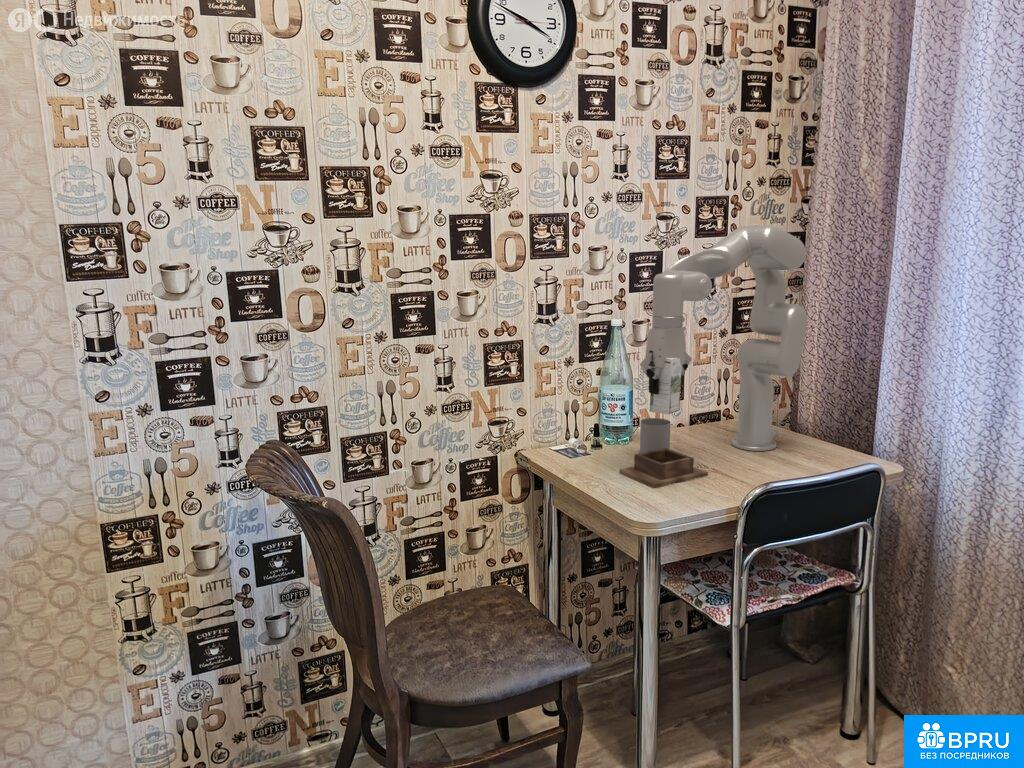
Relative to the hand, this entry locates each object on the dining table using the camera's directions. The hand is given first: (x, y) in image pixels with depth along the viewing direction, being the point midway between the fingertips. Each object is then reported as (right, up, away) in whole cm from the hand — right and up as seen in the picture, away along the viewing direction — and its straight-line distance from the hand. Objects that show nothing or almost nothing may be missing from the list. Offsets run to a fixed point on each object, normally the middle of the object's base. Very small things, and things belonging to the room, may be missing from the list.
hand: (665, 391), depth 194 cm
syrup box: (0, -5, +1) cm, 6 cm away
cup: (+1, -19, +21) cm, 28 cm away
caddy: (0, -22, +5) cm, 22 cm away
